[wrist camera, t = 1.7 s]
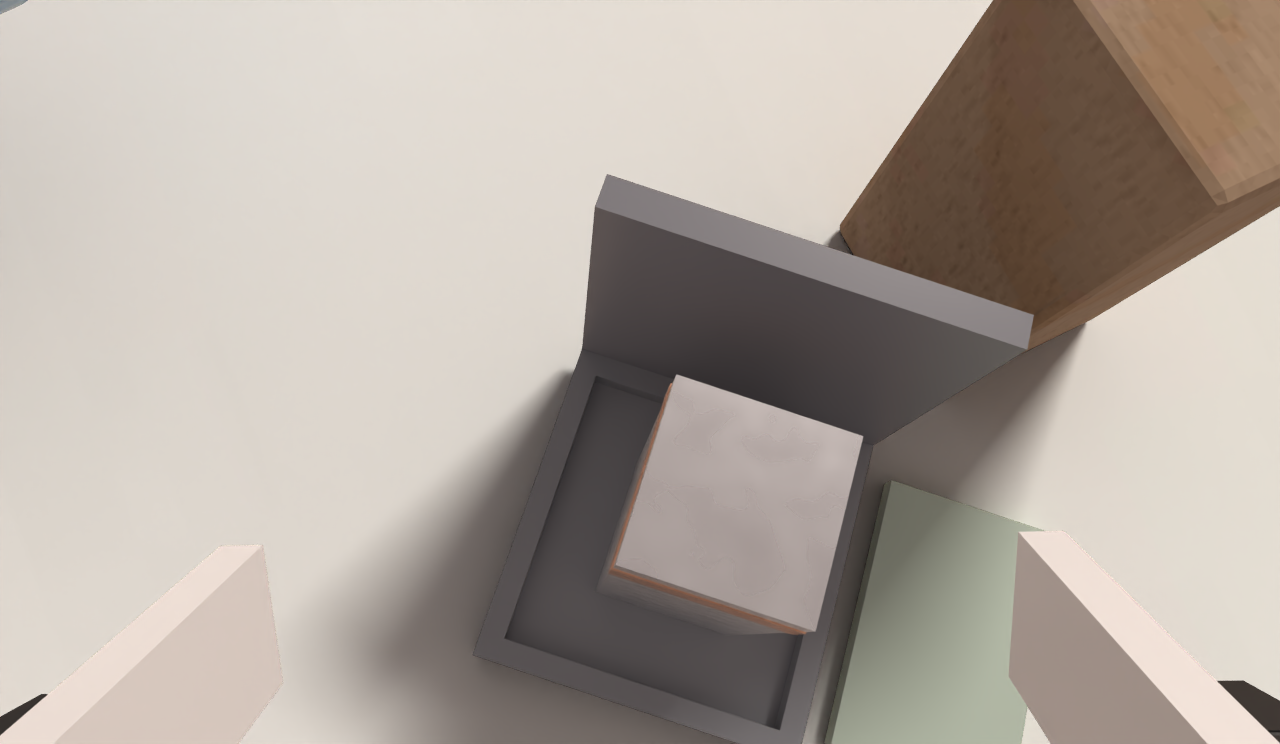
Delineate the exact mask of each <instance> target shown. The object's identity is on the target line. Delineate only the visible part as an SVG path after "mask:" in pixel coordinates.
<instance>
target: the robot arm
mask: <svg viewBox="0 0 1280 744" xmlns="http://www.w3.org/2000/svg"><path fill="white" fill-rule="evenodd" d="M26 1H27V0H0V14H2V13H4V12H6V11H9V10H11V9H13V8H15V7H17V6H20V5H22V4H23V3H25V2H26ZM1009 678H1010V679H1011V681H1012V683H1013V684H1014V686H1015V687H1016V689H1017V691H1018V692H1019V694H1020V695H1021V697H1022V698H1023V700H1024V702H1025V703H1026V705H1027V706H1028V708H1029V710H1030V711H1031V713H1032V714H1033V716H1034V718H1035V719H1036V721H1037V722H1038V724H1039V726H1040V727H1041V729H1042V730H1043V732H1044V734H1045V735H1046V737H1047V738H1048V740H1049V741H1050V743H1051V744H1280V701H1279V700H1277V699H1276V698H1274V697H1272V696H1270V695H1268V694H1267V693H1265V692H1263V691H1261V690H1259V689H1258V688H1256V687H1254V686H1252V685H1250V684H1249V683H1247V682H1245V681H1216V680H1215V679H1214V678H1213V677H1212V676H1211V675H1210V674H1209V673H1208V672H1207V671H1206V670H1205V669H1204V668H1203V667H1202V666H1201V665H1200V664H1199V663H1198V662H1197V661H1196V660H1195V659H1194V658H1193V657H1192V656H1191V655H1190V654H1189V653H1188V652H1187V651H1186V650H1185V649H1184V648H1183V647H1182V646H1181V645H1180V644H1179V643H1178V642H1177V641H1176V640H1175V639H1174V638H1173V637H1172V636H1171V635H1169V634H1168V633H1167V632H1166V631H1165V630H1164V629H1163V628H1162V627H1161V626H1160V625H1159V624H1158V623H1157V622H1156V621H1155V620H1154V619H1153V618H1152V617H1151V616H1150V615H1149V614H1148V613H1147V612H1146V611H1145V610H1144V609H1143V608H1142V607H1141V606H1140V605H1139V604H1138V603H1137V602H1136V601H1135V600H1134V599H1133V598H1132V597H1131V596H1130V595H1129V594H1128V593H1127V592H1126V591H1125V590H1124V589H1123V588H1122V587H1121V586H1120V585H1119V584H1118V583H1117V582H1116V581H1115V580H1114V579H1113V578H1112V577H1111V576H1110V575H1109V574H1108V573H1107V572H1106V571H1104V570H1103V569H1102V568H1101V567H1100V566H1099V565H1098V564H1097V563H1096V562H1095V561H1094V560H1093V559H1092V558H1091V557H1090V556H1089V555H1088V554H1087V553H1086V552H1085V551H1084V550H1083V549H1082V548H1081V547H1080V546H1079V545H1078V544H1077V543H1076V542H1075V541H1074V540H1073V539H1072V538H1071V537H1070V536H1069V535H1068V534H1067V533H1066V532H1065V531H1031V532H1018V543H1017V557H1016V572H1015V587H1014V602H1013V617H1012V631H1011V646H1010V661H1009ZM282 684H283V677H282V670H281V663H280V657H279V650H278V643H277V637H276V630H275V623H274V616H273V610H272V603H271V596H270V589H269V583H268V576H267V569H266V562H265V556H264V549H263V545H223V546H220V547H218V548H217V549H216V550H215V551H214V552H213V553H211V554H210V555H209V556H208V557H207V558H206V559H205V560H203V561H202V562H201V563H200V564H199V565H198V566H196V567H195V568H194V569H193V570H192V571H191V572H189V573H188V574H187V575H186V576H185V577H184V578H182V579H181V580H180V581H179V582H178V583H177V584H176V585H174V586H173V587H172V588H171V589H170V590H169V591H167V592H166V593H165V594H164V595H163V596H162V597H160V598H159V599H158V600H157V601H156V602H155V603H153V604H152V605H151V606H150V607H149V608H148V609H147V610H145V611H144V612H143V613H142V614H141V615H140V616H138V617H137V618H136V619H135V620H134V621H133V622H131V623H130V624H129V625H128V626H127V627H126V628H124V629H123V630H122V631H121V632H120V633H119V634H118V635H116V636H115V637H114V638H113V639H112V640H111V641H109V642H108V643H107V644H106V645H105V646H104V647H102V648H101V649H100V650H99V651H98V652H97V653H95V654H94V655H93V656H92V657H91V658H90V659H89V660H87V661H86V662H85V663H84V664H83V665H82V666H80V667H79V668H78V669H77V670H76V671H75V672H73V673H72V674H71V675H70V676H69V677H68V678H66V679H65V680H64V681H63V682H62V683H61V684H59V685H58V686H57V687H56V688H55V689H54V690H53V691H51V692H50V693H49V694H41V695H39V696H37V697H35V698H34V699H32V700H30V701H28V702H26V703H24V704H23V705H21V706H19V707H17V708H15V709H14V710H12V711H10V712H8V713H6V714H4V715H3V716H1V717H0V744H239V742H240V741H241V740H242V738H243V737H244V736H245V734H246V733H247V731H248V730H249V729H250V727H251V726H252V725H253V723H254V722H255V721H256V719H257V718H258V717H259V715H260V714H261V713H262V711H263V710H264V709H265V707H266V706H267V705H268V703H269V702H270V700H271V699H272V698H273V696H274V695H275V694H276V692H277V691H278V690H279V688H280V687H281V686H282Z"/></svg>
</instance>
